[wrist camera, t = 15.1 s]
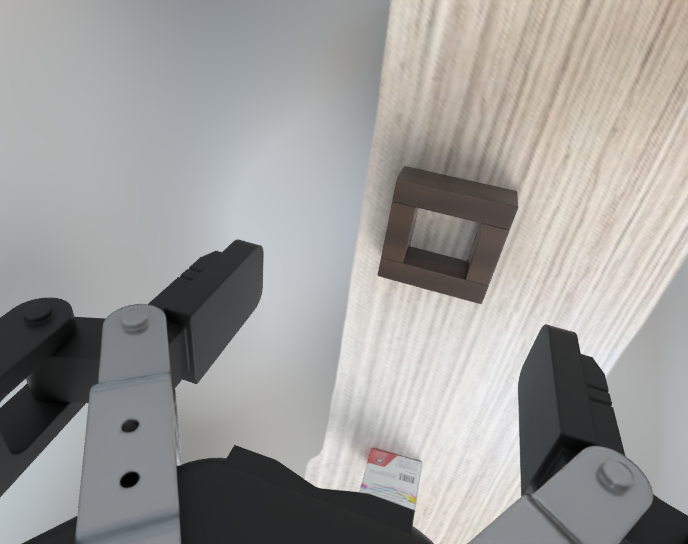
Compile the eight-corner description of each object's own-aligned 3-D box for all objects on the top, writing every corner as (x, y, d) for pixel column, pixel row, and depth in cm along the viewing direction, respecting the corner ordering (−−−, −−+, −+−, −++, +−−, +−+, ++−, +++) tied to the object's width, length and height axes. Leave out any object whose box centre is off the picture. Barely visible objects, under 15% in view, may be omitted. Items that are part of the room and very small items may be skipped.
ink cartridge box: (369, 465, 76) (344, 553, 65) (371, 446, 74) (345, 535, 62) (419, 480, 75) (403, 574, 63) (423, 461, 72) (407, 556, 60)
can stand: (404, 165, 48) (396, 178, 45) (517, 191, 46) (518, 207, 43) (384, 258, 55) (377, 276, 51) (483, 284, 52) (481, 304, 49)
